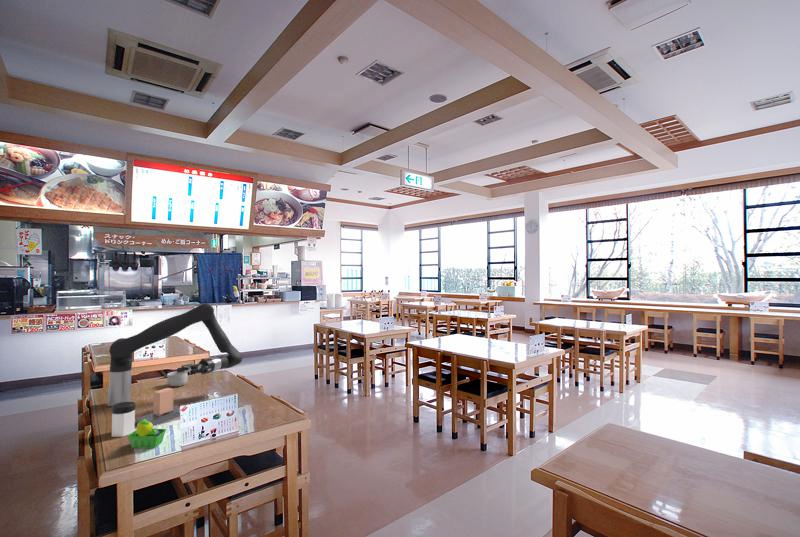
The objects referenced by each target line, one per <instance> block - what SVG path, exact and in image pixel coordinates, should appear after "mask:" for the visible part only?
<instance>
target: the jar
mask: <svg viewBox="0 0 800 537" xmlns="http://www.w3.org/2000/svg"><path fill="white" fill-rule="evenodd" d="M135 416H136V402H134V401H131V402H122V403H117V404H115V405H113V406H111V437H115V438H117V437H118V438H119V437H121V438H122V437H126V436H128V435H129V434H131V433H133V432H134V431H135V425H136V417H135Z"/></svg>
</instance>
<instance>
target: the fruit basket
mask: <svg viewBox="0 0 800 537" xmlns="http://www.w3.org/2000/svg"><path fill="white" fill-rule="evenodd" d="M153 427H154V426H153V424H152V423H150V422H148V421H147V420H145V419H143V420H142V421H140V422H139V423H138V424H137V425H136V430H134V432H133V433H131V434H129V435H127V438H128V439H129V444H130V446H131V449H132V448H133V449H134V448H135V449H136V448H138V449H155V448H157V447H158V446H159V445H161V444H162V443H163V440H164V438H165V433H166V431H167V429H166V428H153ZM161 442H162V443H161ZM157 445H158V446H157ZM156 446H157V447H156ZM149 447H151V448H149ZM154 447H155V448H154Z"/></svg>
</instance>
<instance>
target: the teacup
mask: <svg viewBox="0 0 800 537" xmlns="http://www.w3.org/2000/svg"><path fill="white" fill-rule="evenodd" d="M188 373H189V372H188V371H184V372H180V373H177V370H176V371H175V370H174V371H171V372H168V373H167V374H166V375H167V376H166V377H167V380H166V381H167V384H168V385H169V386H170V387H172V386H179V387H182V385H183V386H185V385H186V384H187V382H188V378H189V377H188Z"/></svg>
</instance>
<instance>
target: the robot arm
mask: <svg viewBox="0 0 800 537" xmlns="http://www.w3.org/2000/svg"><path fill="white" fill-rule="evenodd" d="M200 322H202V323H203V324H204V326H205V327H206V329H207V330H208V332H209V334H210V335H211V339H212V340H213V342H214V343H215V346H216V347H217V349H218V351H219V353H221V354H224V353H225V354H227V355H226V356H224V355H221V356H216V357H209V358H205V359H201V360H199V362H198V363H194V364H193V363H188V364H184V365H183V364H182V365H181V367H177V369H176V371H177V373H180V372H184V371H188V372H187V373H189V375H191V376H192V375H197V374H198V375H199V374H201V375H206V374H211V373H215V372H217V371H220V370H224V369H226V370H227V369H231V368H233V367H235V366H237V365H239V364H240V363H242V361H243V356H242V353H241V352H240V351H239V350H238V349H237V348H236V347H235V346H234V345H232V342H231V341H230V339H229V338H228V336H227V334H226V333H225V331H224V330H223V328H222V327H221V325H220V324H219V322H218V320H217V318H216V315H215V308H214V306H212V304H210V303H206V302H205V303H201V304H199V305H197V306H195V307H193V308H192V309H190V310H188V311H186V312H184V313H181V314H178V315H175V316H172V317H169V318H165V319H164V320H161V321H159V322H157V323H155V324H152V325H151V326H149V327H147V328H146V329H144V330H142V331H141V332H139V333H137V334H134V335H131V336H129V337H126V338H123V337H121V338H118V339H116V340H114V341H112V343H111V345H110V347H109V350H108V351H109V354H110V362H109V363H110V364H109V381H108V382H109V383H108V384H109V386H108V387H107V402H106V403H107V404H106V406H107V407H112V406H113V405H115V404H117V403H122V402H132V400H131V399H132V396H131V395H132V369H133V368H132V366H133V354H134V353H135V352H136V351H138V350H140V349H142V348H144V347H146V346H149V345H153V344H155V343H157V342H159V341H163V340H165V339H167V338H169V337H172V336H174V335H175V334H178V333H180V332H181V331H183V330H185V329H186V328H188V327H190V326H192V325H194V324H196V323H197V324H198V323H200Z"/></svg>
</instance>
